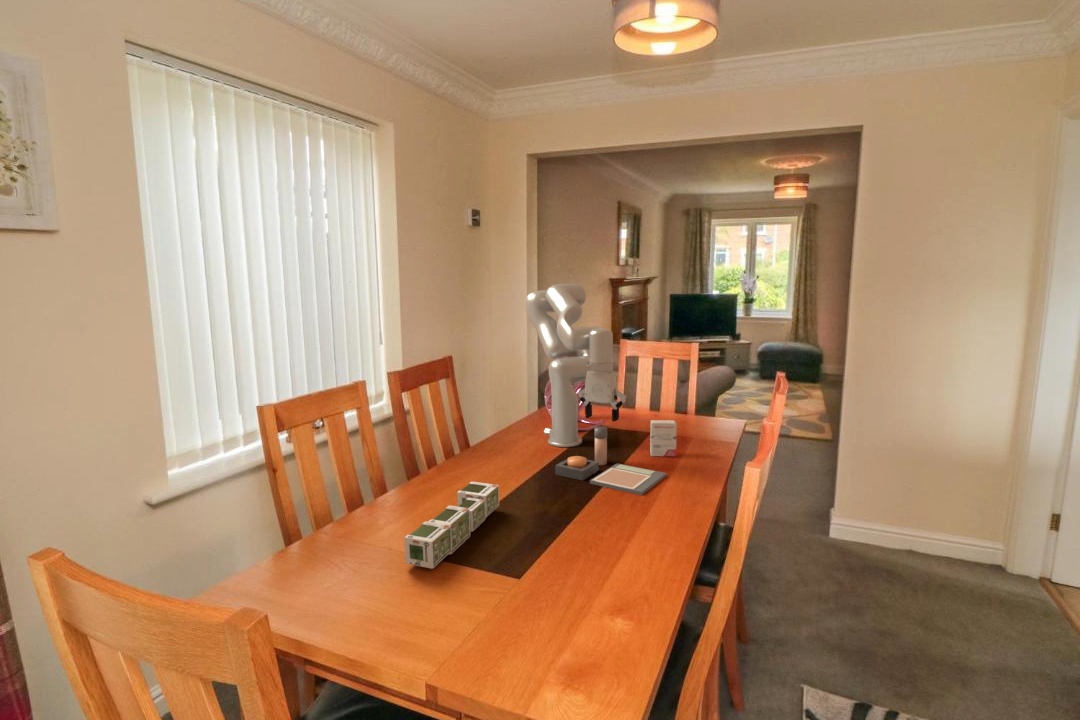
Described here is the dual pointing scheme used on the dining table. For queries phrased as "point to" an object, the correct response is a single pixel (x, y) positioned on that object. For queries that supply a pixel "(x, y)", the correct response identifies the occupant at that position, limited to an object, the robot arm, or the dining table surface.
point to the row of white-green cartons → (451, 525)
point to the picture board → (628, 478)
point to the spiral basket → (580, 406)
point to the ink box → (663, 438)
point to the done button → (577, 461)
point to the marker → (600, 444)
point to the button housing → (576, 470)
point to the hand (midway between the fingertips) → (601, 418)
